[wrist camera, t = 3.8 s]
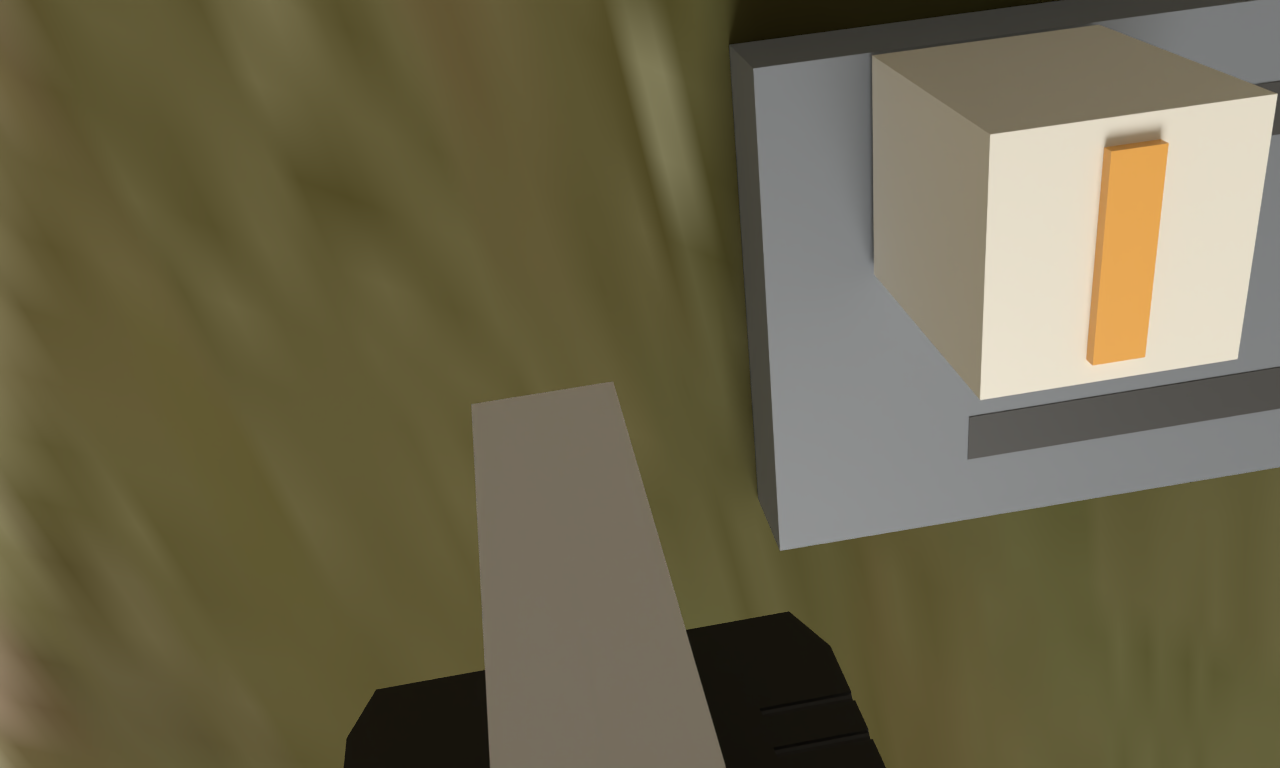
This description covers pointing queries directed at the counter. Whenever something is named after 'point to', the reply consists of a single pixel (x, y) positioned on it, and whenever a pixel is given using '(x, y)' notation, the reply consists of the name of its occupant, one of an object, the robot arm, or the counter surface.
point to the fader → (1067, 205)
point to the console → (902, 354)
